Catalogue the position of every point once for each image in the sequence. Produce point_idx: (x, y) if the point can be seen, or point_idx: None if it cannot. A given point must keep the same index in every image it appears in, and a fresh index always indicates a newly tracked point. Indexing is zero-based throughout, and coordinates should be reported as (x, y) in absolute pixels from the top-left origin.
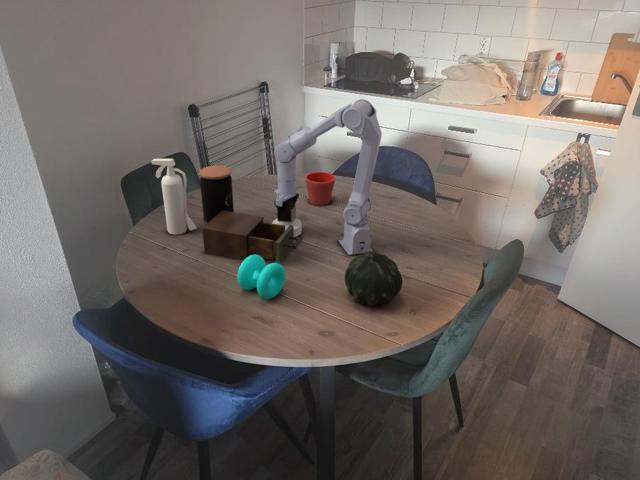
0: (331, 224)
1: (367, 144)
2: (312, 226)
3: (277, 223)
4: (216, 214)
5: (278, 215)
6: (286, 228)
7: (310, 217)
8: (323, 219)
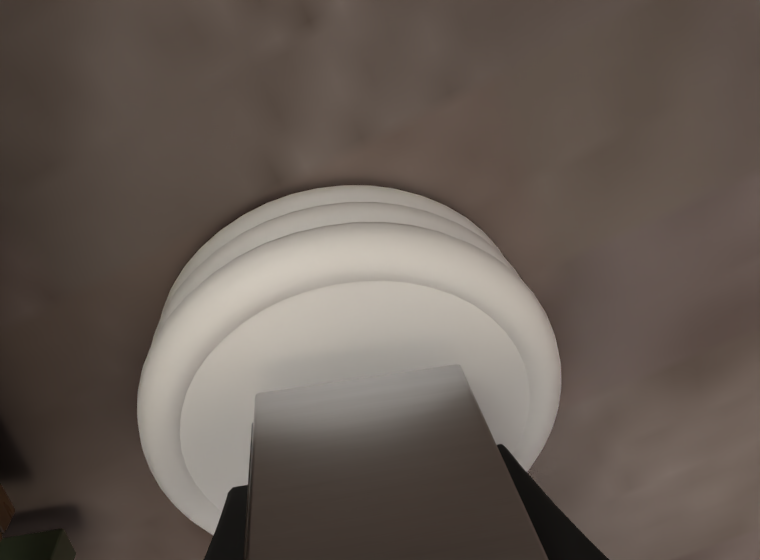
0: (630, 553)
1: None
2: (560, 471)
3: (291, 339)
4: None
5: (247, 508)
6: (210, 495)
7: (748, 383)
8: (715, 480)
